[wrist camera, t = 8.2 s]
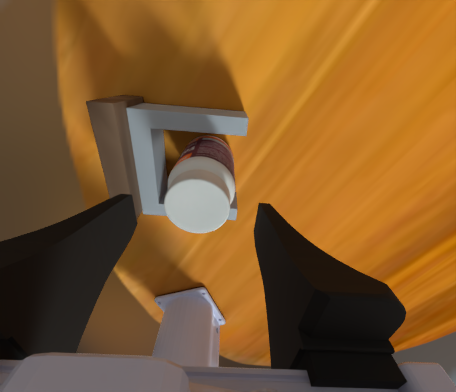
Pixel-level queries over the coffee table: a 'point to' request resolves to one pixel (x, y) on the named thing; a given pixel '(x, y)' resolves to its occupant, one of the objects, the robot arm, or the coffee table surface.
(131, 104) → the wall
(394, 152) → the coffee table surface
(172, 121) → the cradle
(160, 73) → the coffee table surface
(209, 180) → the pill bottle
